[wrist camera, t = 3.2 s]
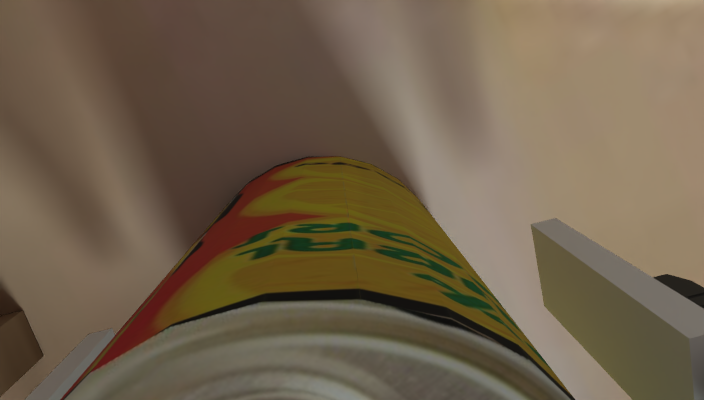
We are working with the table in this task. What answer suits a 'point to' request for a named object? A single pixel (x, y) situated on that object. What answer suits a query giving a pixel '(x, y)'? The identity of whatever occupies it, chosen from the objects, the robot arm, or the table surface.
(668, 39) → the table surface
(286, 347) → the beverage can
